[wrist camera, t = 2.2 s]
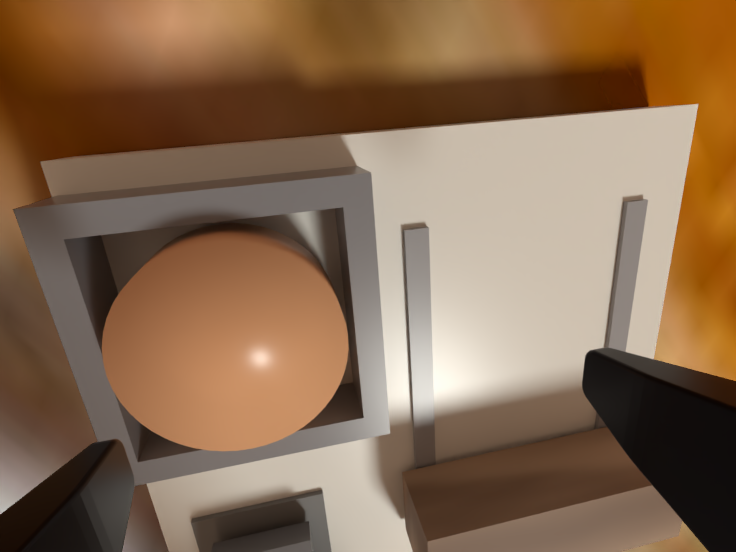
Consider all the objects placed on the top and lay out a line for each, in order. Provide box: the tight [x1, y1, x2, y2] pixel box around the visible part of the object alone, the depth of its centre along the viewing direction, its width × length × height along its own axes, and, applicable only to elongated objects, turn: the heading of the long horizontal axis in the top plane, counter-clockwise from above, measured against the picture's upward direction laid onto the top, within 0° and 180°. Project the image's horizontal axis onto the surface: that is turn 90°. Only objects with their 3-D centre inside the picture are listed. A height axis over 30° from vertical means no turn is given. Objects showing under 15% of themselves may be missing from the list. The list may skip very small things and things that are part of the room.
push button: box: [102, 223, 349, 451], centre depth 12 cm, size 6×6×2 cm
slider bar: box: [402, 427, 682, 552], centre depth 17 cm, size 3×10×3 cm, turn 94°
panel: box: [13, 104, 698, 552], centre depth 16 cm, size 20×20×4 cm
